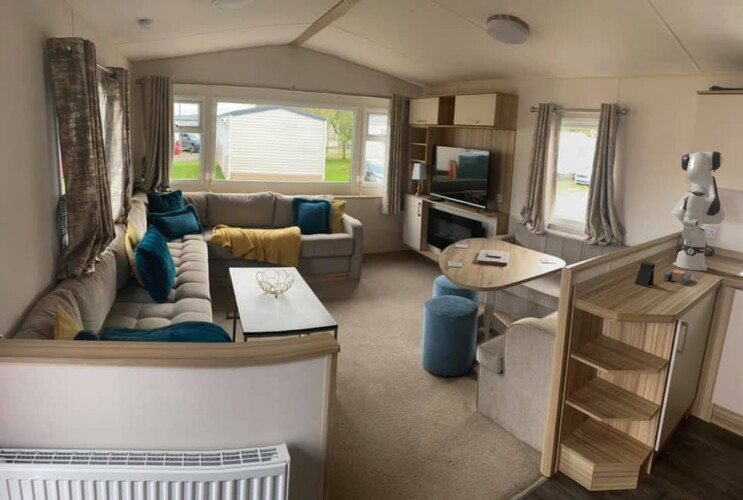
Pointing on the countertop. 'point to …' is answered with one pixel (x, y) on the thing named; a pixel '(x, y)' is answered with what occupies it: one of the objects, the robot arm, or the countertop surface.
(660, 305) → the countertop surface
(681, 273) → the block
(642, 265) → the phone stand
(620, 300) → the countertop surface
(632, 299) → the countertop surface
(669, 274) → the channel
